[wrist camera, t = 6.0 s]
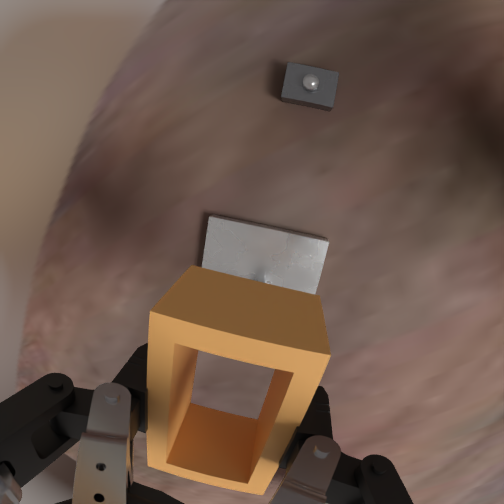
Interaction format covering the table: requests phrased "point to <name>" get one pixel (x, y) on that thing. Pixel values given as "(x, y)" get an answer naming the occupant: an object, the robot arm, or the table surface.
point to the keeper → (264, 253)
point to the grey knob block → (309, 86)
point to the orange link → (239, 348)
